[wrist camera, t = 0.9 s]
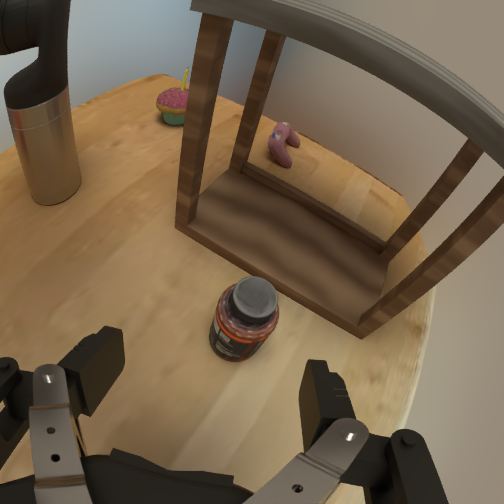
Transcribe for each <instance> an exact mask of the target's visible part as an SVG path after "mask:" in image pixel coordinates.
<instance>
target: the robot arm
mask: <svg viewBox="0 0 504 504" xmlns="http://www.w3.org/2000/svg"><path fill="white" fill-rule="evenodd" d="M70 2H71V0H0V55H7V54H11V53H15V52H18V51H22V50H26V49H30V48H34V47H39V54H38V58H37V59H36V60H35V61H34V62H33V63H32V64H30V65H29V66H27V67H26V68H24V69H22V70H21V71H19V72H18V73H16V74H15V75H14V76H13V77H12V78H10V80H9V81H8V82H7V83H6V85H5V88H4V98H5V103H6V108H7V113H8V117H9V121H10V125H11V129H12V133H13V137H14V141H15V144H16V148H17V151H18V155H19V158H20V161H21V165H22V168H23V171H24V174H25V177H26V180H27V183H28V186H29V189H30V191H31V194H32V197H33V199H34V200H35V201H36V202H37V203H39V204H42V205H53V204H57V203H60V202H62V201H64V200H66V199H68V198H69V197H70V196H72V195H73V194H74V193H75V192H76V191H77V189H78V188H79V186H80V183H81V174H80V169H79V163H78V157H77V151H76V145H75V138H74V132H73V124H72V116H71V108H70V99H69V87H68V73H67V38H68V22H69V12H70ZM124 364H125V354H124V343H123V333H122V330H121V329H118V328H114V327H109V326H104V327H103V328H102V329H101V330H100V331H99V332H98V333H97V334H94V333H93V334H91V335H89V336H87V337H85V338H83V339H82V340H81V341H80V342H79V343H78V345H76V346H75V347H74V348H73V350H71V351H70V352H69V353H68V354H67V355H66V356H65V357H64V358H63V359H62V360H61V361H60V362H59V363H58V364H57V365H54V364H46V365H42V366H40V367H38V368H37V369H36V370H35V371H34V372H29V371H23V370H20V369H19V365H18V363H17V361H16V360H15V359H13V358H10V357H3V358H0V403H1V401H2V400H3V402H4V405H5V407H4V408H3V410H2V411H1V412H0V470H1V468H2V467H3V465H4V464H5V462H6V461H7V459H8V458H9V456H10V455H11V453H12V452H13V450H14V449H15V447H16V446H17V445H18V443H19V442H20V440H21V439H22V437H23V436H24V435H25V433H26V432H27V430H28V429H29V428H30V439H31V449H32V458H33V465H34V472H35V474H34V475H30V476H27V477H24V478H21V479H17V480H14V481H10V482H6V483H3V484H0V504H325V503H326V502H327V500H328V499H329V498H330V497H331V496H332V494H333V493H334V492H335V490H336V489H337V488H338V486H339V485H340V484H341V483H346V484H351V485H356V486H362V487H363V490H364V496H365V503H366V504H449V503H448V500H447V497H446V495H445V492H444V489H443V486H442V484H441V481H440V478H439V476H438V473H437V470H436V468H435V465H434V463H433V460H432V457H431V455H430V452H429V450H428V448H427V445H426V443H425V440H424V438H423V437H422V436H421V435H420V434H419V433H417V432H415V431H413V430H409V429H400V430H397V431H395V432H394V433H393V434H392V436H391V438H390V437H384V436H379V435H374V434H371V433H369V430H368V428H367V427H366V425H364V424H363V423H362V422H360V421H358V420H356V417H355V413H354V410H353V407H352V404H351V401H350V398H349V397H348V396H349V395H348V392H347V390H346V386H345V383H344V380H343V379H342V378H341V377H340V376H339V375H338V374H337V373H334V372H329V369H328V365H327V362H326V361H325V360H311V359H308V361H307V363H306V367H305V371H304V375H303V378H302V382H301V386H300V390H299V408H300V417H301V427H302V436H303V446H304V453H302V452H301V453H299V454H298V455H297V456H296V457H295V458H293V459H292V460H291V461H290V462H289V463H288V464H287V465H286V466H285V467H284V468H283V469H282V470H281V471H280V472H279V473H278V474H277V475H275V476H274V477H273V478H272V479H271V480H270V481H269V482H268V483H266V484H265V485H264V486H263V487H262V488H261V489H260V490H258V491H257V492H256V493H255V494H254V493H253V492H251V491H249V490H247V489H246V488H243V487H241V486H239V485H236V484H233V479H234V476H232V475H225V474H218V473H211V472H205V471H170V470H167V469H164V468H162V467H160V466H158V465H156V464H154V463H152V462H150V461H148V460H146V459H144V458H142V457H140V456H137V455H133V454H130V453H127V452H124V451H121V450H118V449H115V448H113V450H112V451H111V453H110V455H91V456H88V453H87V450H86V446H85V443H84V439H83V435H82V431H81V427H80V423H79V419H78V417H79V415H80V414H84V415H87V416H89V417H91V416H92V414H93V413H94V411H95V410H96V408H97V407H98V405H99V404H100V402H101V401H102V399H103V398H104V397H105V395H106V394H107V392H108V391H109V389H110V388H111V386H112V385H113V384H114V382H115V381H116V379H117V378H118V376H119V375H120V374H121V372H122V370H123V368H124Z"/></svg>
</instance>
